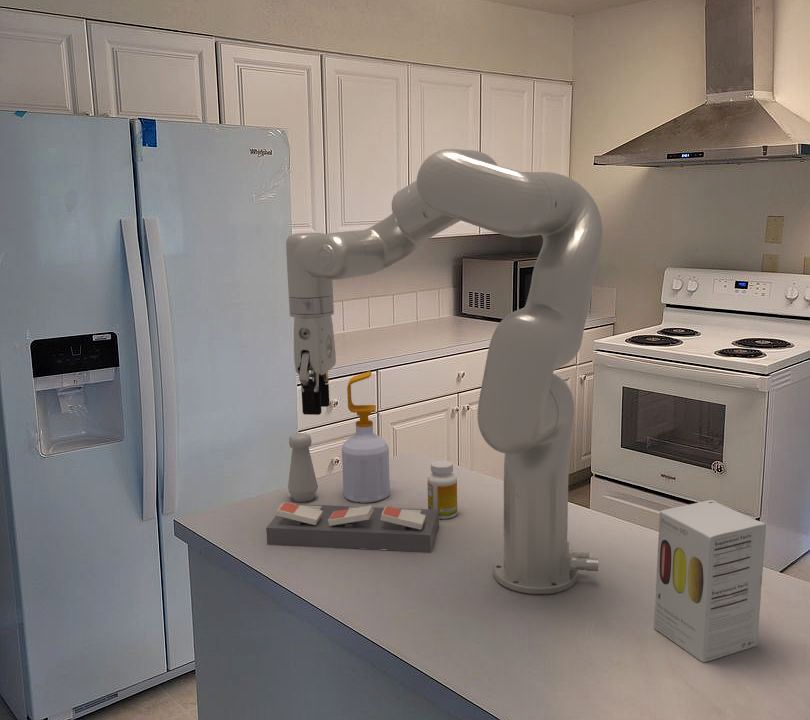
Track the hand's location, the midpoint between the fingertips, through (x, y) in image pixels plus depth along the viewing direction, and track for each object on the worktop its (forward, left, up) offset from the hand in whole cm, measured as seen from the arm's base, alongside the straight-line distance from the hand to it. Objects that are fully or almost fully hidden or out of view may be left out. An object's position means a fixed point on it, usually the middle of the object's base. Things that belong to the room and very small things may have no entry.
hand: (316, 409), depth 142 cm
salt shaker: (+7, -12, -22) cm, 26 cm away
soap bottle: (-5, -15, -22) cm, 27 cm away
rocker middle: (-7, +6, -17) cm, 19 cm away
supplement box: (-60, +31, -22) cm, 71 cm away
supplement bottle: (-21, -7, -22) cm, 31 cm away
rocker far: (+2, +6, -17) cm, 18 cm away
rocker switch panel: (-7, +4, -21) cm, 23 cm away
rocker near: (-16, +6, -17) cm, 24 cm away
